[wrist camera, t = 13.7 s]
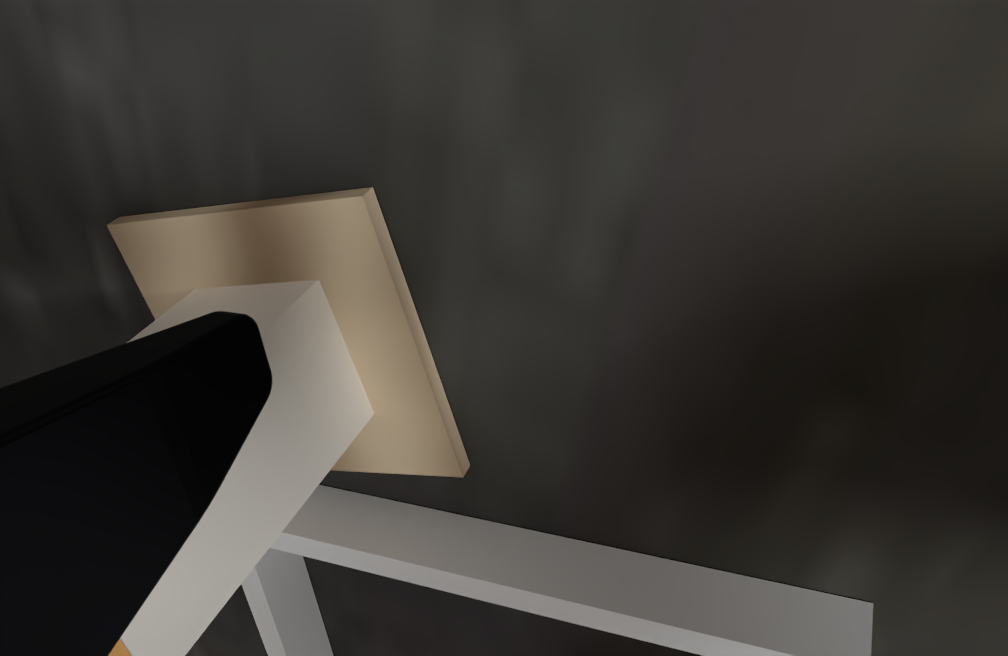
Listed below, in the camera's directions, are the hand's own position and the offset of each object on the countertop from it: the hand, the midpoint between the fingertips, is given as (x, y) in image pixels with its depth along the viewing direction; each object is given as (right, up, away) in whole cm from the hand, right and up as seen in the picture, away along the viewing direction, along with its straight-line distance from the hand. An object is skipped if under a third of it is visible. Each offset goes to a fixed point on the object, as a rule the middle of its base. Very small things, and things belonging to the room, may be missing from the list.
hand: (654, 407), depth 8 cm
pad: (-8, 0, +21) cm, 22 cm away
